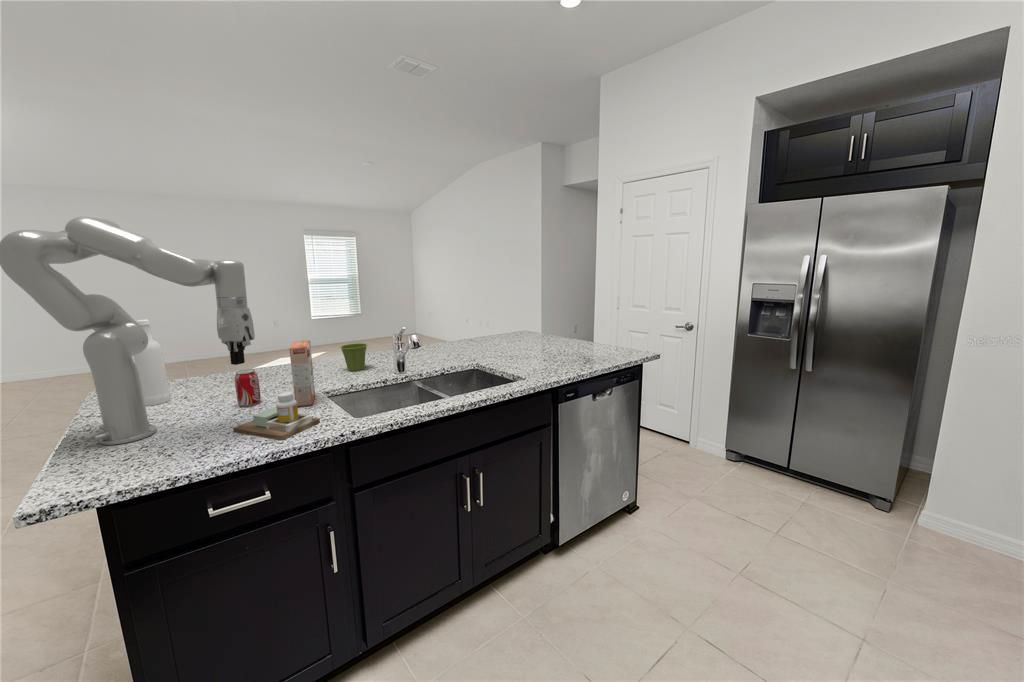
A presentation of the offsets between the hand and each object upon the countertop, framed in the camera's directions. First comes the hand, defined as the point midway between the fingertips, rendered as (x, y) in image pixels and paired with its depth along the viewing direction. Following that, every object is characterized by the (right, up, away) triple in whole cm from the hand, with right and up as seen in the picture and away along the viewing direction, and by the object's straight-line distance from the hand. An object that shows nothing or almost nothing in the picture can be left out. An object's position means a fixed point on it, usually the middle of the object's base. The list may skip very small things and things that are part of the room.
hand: (237, 363), depth 129 cm
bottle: (-45, -16, +25) cm, 54 cm away
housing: (+10, -18, 0) cm, 20 cm away
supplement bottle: (+17, -18, -2) cm, 25 cm away
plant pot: (+11, -7, +67) cm, 69 cm away
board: (+12, -19, 0) cm, 23 cm away
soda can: (-10, -16, +21) cm, 28 cm away
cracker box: (+9, -15, +24) cm, 30 cm away
